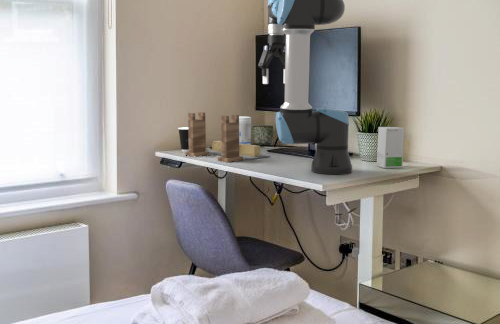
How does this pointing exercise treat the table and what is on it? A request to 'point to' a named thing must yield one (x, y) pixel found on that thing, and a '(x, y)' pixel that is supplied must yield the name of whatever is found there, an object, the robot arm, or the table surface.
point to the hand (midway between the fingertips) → (276, 83)
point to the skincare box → (390, 147)
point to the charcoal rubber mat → (240, 155)
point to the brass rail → (240, 149)
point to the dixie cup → (184, 139)
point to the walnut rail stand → (227, 137)
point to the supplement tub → (245, 130)
